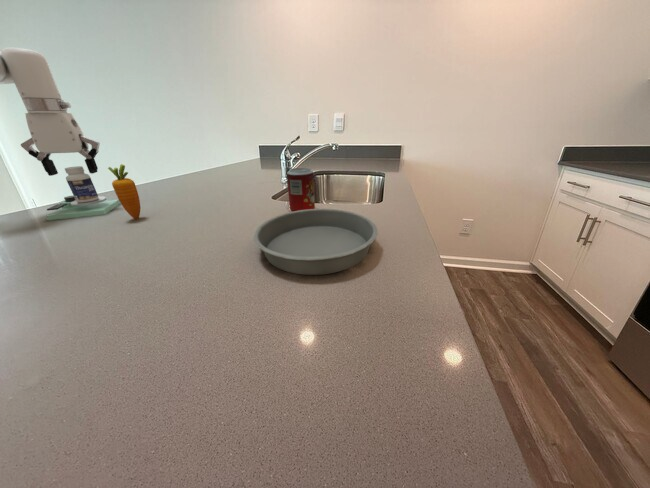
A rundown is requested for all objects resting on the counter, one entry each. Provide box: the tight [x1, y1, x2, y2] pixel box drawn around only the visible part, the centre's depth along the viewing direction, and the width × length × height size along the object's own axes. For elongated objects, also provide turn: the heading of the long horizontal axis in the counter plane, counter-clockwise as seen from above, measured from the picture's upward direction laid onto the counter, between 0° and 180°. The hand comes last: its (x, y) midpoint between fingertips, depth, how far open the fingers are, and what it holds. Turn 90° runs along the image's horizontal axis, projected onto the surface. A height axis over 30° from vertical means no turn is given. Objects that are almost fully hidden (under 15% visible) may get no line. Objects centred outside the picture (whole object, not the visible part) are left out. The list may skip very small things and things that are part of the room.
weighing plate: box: [71, 195, 107, 206], centre depth 79 cm, size 8×8×1 cm
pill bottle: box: [64, 165, 99, 202], centre depth 76 cm, size 5×5×10 cm
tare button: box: [63, 195, 76, 202], centre depth 81 cm, size 3×3×2 cm
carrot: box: [107, 164, 141, 221], centre depth 69 cm, size 5×5×15 cm
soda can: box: [286, 167, 316, 212], centre depth 71 cm, size 7×7×12 cm
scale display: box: [46, 203, 67, 211], centre depth 75 cm, size 2×5×1 cm, turn 17°
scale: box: [45, 198, 121, 221], centre depth 80 cm, size 14×12×3 cm
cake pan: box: [252, 208, 379, 276], centre depth 53 cm, size 25×25×4 cm
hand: (74, 173), depth 75 cm, fingers open, 9 cm apart
